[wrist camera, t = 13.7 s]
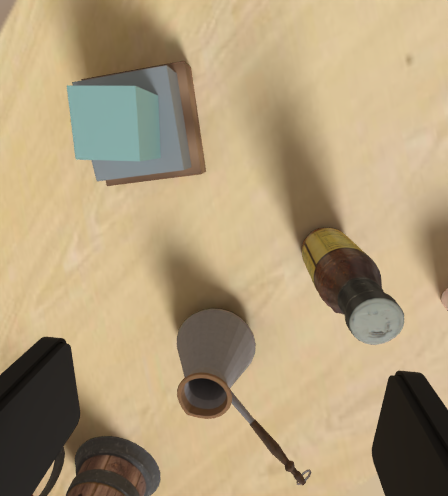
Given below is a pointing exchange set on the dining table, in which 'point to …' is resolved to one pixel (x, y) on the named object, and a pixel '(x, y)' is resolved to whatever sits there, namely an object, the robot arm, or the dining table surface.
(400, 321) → the sauce bottle
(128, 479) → the tankard
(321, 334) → the dining table surface
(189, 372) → the coffee pot
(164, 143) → the top block
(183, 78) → the bottom block
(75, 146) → the teal cube
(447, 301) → the smoothie
